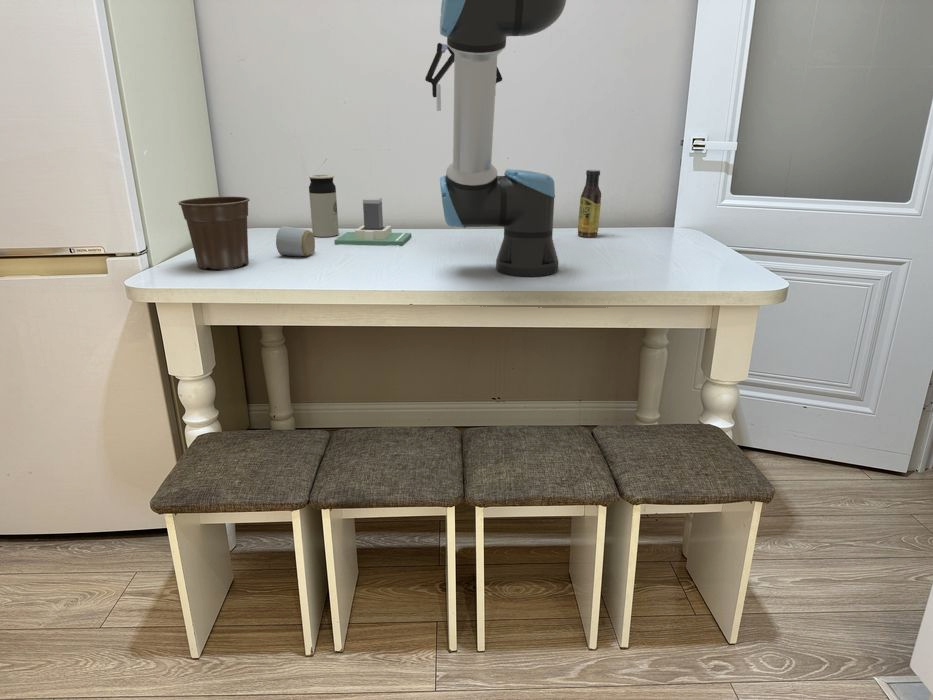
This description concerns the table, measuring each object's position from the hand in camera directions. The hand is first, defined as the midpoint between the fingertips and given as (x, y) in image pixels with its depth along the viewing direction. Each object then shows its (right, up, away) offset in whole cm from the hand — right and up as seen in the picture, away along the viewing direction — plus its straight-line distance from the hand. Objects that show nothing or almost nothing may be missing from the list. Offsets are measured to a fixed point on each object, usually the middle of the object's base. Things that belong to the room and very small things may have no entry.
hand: (464, 110), depth 173 cm
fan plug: (-27, -30, +19) cm, 45 cm away
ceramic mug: (-45, -39, +1) cm, 59 cm away
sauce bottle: (+38, -29, +27) cm, 55 cm away
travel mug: (-43, -28, +28) cm, 59 cm away
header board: (-27, -31, +20) cm, 46 cm away
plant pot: (-61, -43, -11) cm, 75 cm away
